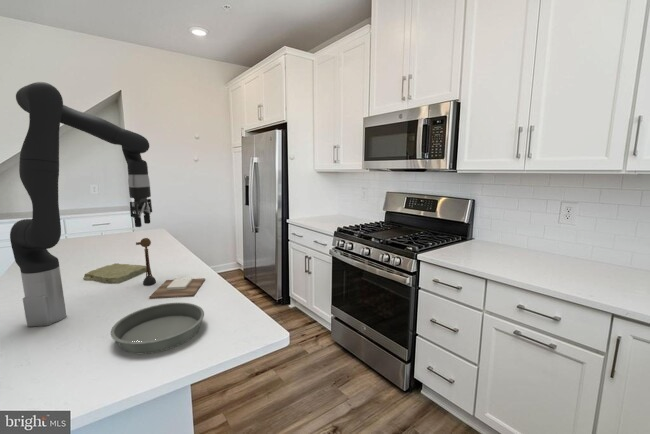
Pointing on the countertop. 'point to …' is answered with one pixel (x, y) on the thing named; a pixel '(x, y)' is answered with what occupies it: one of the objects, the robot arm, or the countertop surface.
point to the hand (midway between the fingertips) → (143, 225)
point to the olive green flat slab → (115, 273)
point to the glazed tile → (179, 284)
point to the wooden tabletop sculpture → (147, 262)
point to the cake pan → (158, 327)
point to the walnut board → (188, 292)
